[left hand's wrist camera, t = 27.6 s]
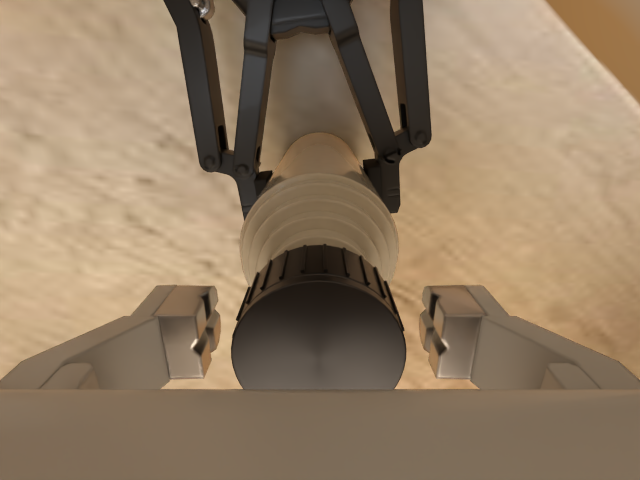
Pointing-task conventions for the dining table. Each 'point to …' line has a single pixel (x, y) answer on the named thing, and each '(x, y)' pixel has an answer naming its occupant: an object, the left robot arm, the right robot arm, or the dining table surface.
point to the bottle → (319, 208)
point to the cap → (318, 324)
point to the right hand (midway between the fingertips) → (328, 264)
